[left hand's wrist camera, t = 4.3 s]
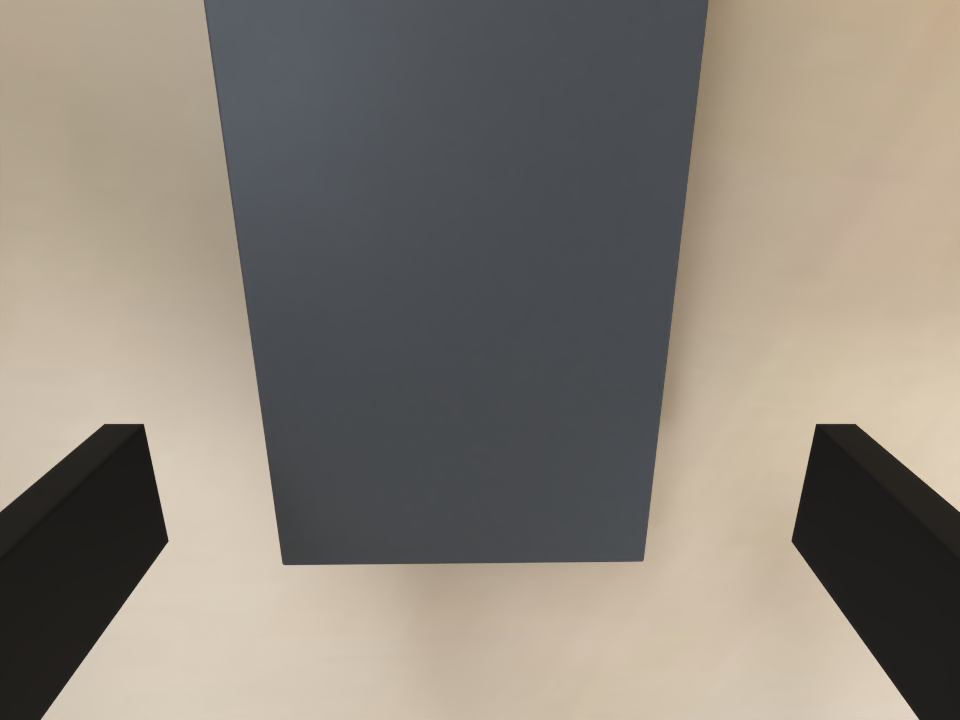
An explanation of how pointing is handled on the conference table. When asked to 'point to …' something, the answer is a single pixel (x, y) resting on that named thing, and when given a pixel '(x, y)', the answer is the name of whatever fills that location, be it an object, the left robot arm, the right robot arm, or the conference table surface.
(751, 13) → the conference table surface
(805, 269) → the conference table surface
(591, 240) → the long grey beam
